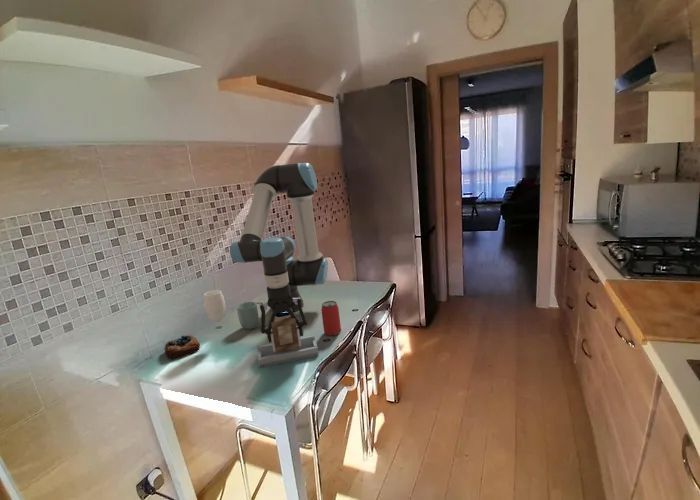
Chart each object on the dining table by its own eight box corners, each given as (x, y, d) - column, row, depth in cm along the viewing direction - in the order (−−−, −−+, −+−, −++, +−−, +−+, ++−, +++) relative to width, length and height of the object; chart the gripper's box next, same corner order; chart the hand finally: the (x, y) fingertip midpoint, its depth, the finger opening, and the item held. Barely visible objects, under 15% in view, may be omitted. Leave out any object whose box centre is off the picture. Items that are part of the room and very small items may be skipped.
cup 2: (263, 324, 157) (260, 302, 155) (251, 332, 151) (247, 309, 148) (249, 322, 161) (245, 301, 158) (236, 330, 154) (232, 308, 151)
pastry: (163, 352, 142) (160, 338, 141) (195, 340, 149) (192, 327, 147) (169, 362, 133) (166, 348, 132) (203, 350, 140) (200, 336, 139)
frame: (275, 352, 125) (271, 322, 123) (275, 348, 129) (270, 318, 126) (299, 348, 127) (295, 318, 124) (298, 343, 130) (294, 314, 128)
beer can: (328, 338, 139) (324, 308, 137) (321, 331, 145) (318, 303, 142) (344, 332, 142) (340, 303, 139) (336, 326, 148) (333, 298, 145)
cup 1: (221, 337, 149) (211, 289, 144) (236, 339, 146) (226, 289, 141) (208, 346, 142) (198, 295, 137) (223, 348, 140) (213, 296, 135)
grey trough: (259, 368, 123) (257, 355, 122) (259, 357, 130) (257, 345, 129) (318, 355, 127) (317, 342, 126) (315, 346, 134) (313, 334, 133)
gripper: (245, 294, 117) (256, 359, 122) (310, 282, 121) (318, 346, 126) (245, 286, 124) (256, 348, 129) (307, 276, 128) (315, 336, 134)
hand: (287, 347), depth 128 cm, fingers closed on frame, 8 cm apart
